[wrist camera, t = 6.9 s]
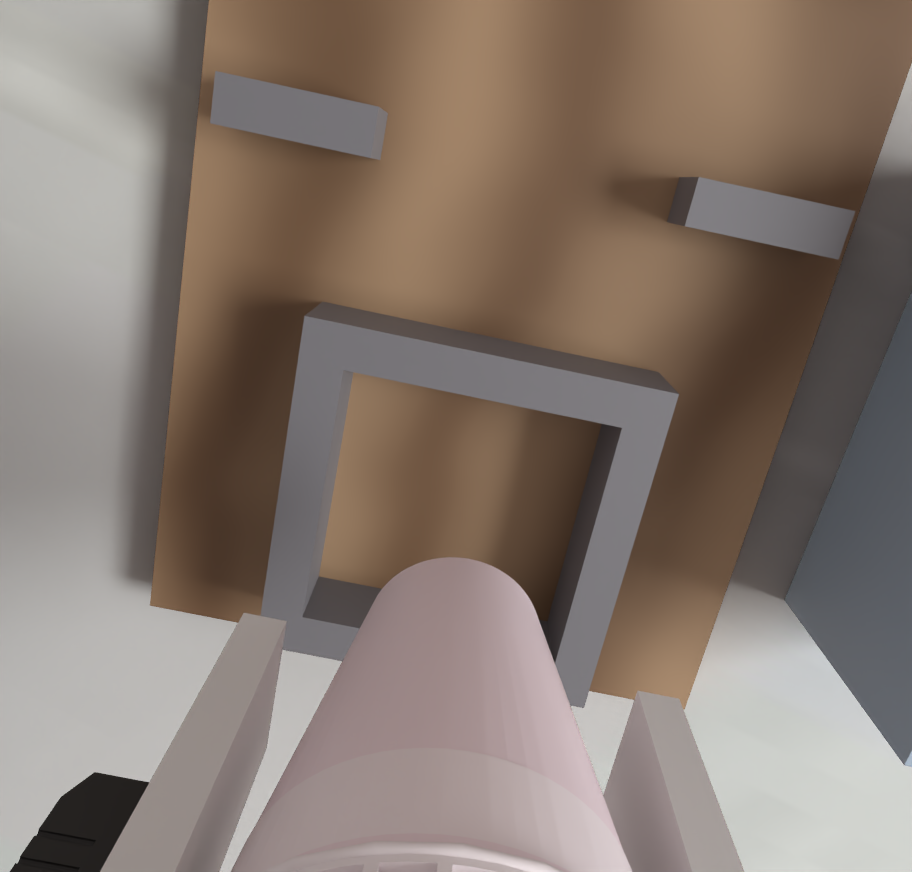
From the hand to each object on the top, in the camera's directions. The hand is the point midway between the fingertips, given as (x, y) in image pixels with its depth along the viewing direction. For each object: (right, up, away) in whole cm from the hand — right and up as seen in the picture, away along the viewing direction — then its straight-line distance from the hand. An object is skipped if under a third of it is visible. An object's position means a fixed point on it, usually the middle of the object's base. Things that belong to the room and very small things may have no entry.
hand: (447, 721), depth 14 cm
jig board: (+2, +11, +9) cm, 14 cm away
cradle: (0, +3, +10) cm, 11 cm away
